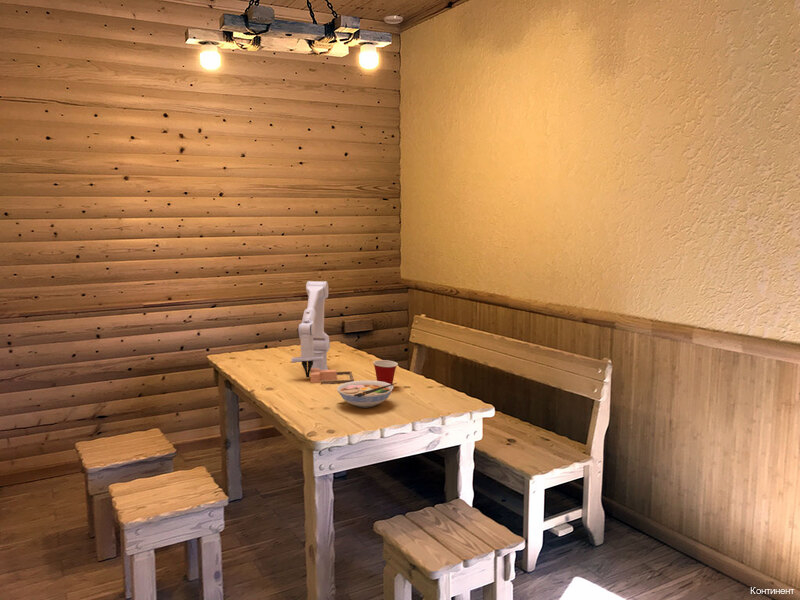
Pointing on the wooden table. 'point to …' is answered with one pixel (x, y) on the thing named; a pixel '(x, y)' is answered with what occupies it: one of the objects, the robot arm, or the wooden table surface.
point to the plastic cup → (385, 370)
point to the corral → (340, 380)
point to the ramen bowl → (365, 392)
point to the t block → (322, 375)
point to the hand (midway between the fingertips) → (307, 377)
